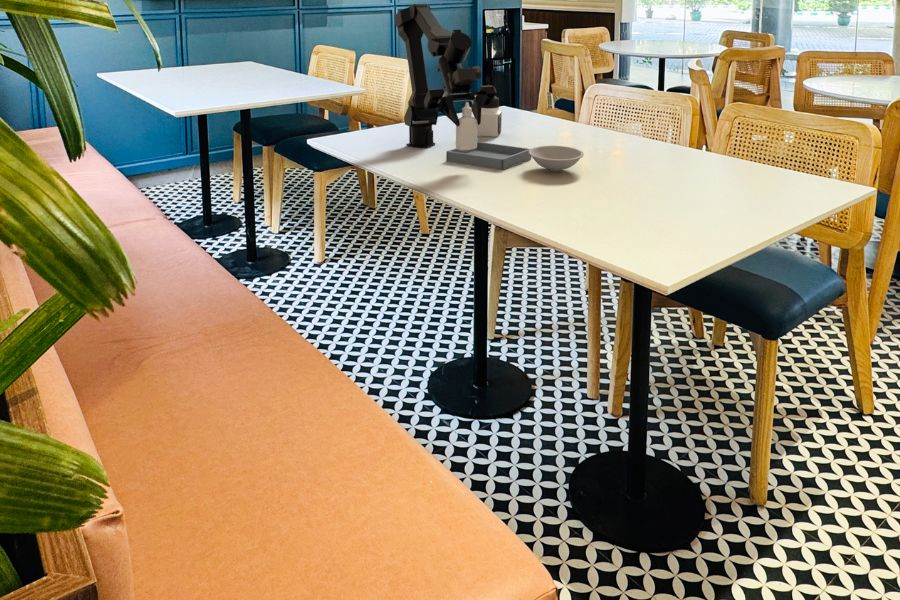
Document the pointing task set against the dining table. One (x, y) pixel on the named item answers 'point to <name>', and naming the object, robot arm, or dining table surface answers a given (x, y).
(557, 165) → the dish
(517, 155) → the slate tray
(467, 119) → the eye dropper bottle
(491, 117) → the medicine bottle
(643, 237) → the dining table surface
